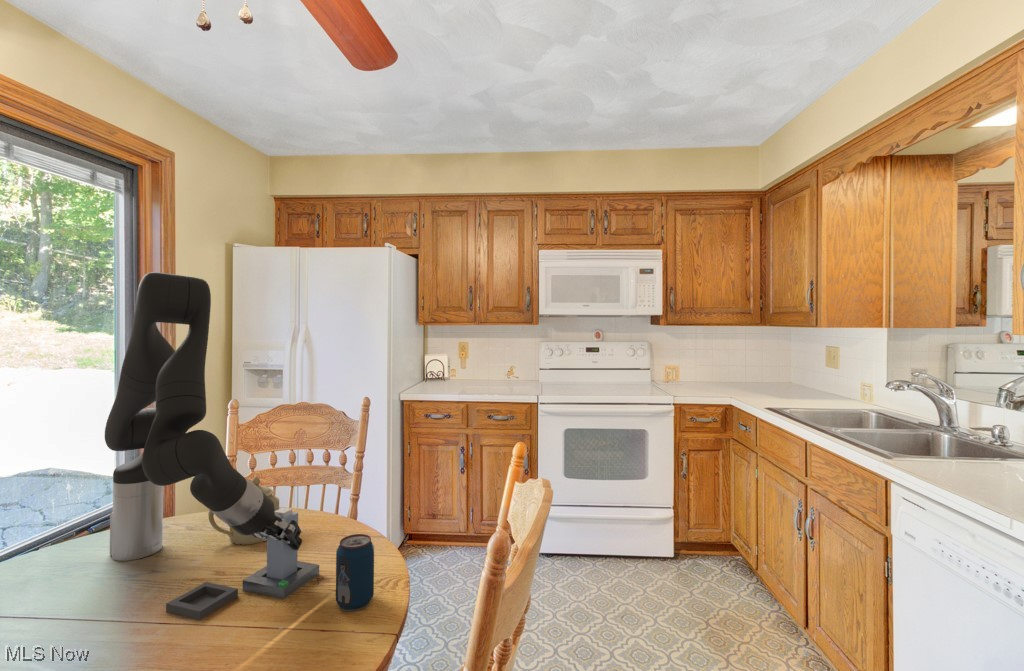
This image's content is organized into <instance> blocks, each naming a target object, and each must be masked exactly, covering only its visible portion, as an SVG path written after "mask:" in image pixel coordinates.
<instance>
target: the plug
mask: <svg viewBox="0 0 1024 671" xmlns="http://www.w3.org/2000/svg"><path fill="white" fill-rule="evenodd" d="M275 513H276V514H277V515H279V516H280V518H281V519H283V520H284V521H286V522H287V523H289V522H290V521H291V520H294V521H296V522H297V524H298V525H299V512H295V511H294V512H293V508H287V507H281V508H279V510H277V511H275ZM277 534H278V533H277ZM277 534H276V535H277ZM284 537H285V538H286V535H284ZM298 550H299V549H298ZM298 550H294V549H292V548H291V547H290V546H289V545H287V544H285V543H284V542H283V541H281V540H280V541H278V540H274V539H272V538H271V537H269V536H268V535H267V541H266V566H267V577H268V578H273V579H278V580H284V579H286V578H287V577H289V576H290V575H292V574H293V573H295V572H297V561H298V554H299V551H298Z"/></svg>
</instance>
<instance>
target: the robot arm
mask: <svg viewBox="0 0 1024 671" xmlns="http://www.w3.org/2000/svg"><path fill="white" fill-rule="evenodd" d="M135 298H136V299H135V306H134V313H133V320H132V326H131V327H132V328H131V333H130V336H129V337H130V338H129V342H128V344H127V345H128V346H127V349H126V350H125V351H126V352H125V355H124V358H123V361H122V366H121V369H120V375H119V380H118V386H117V392H116V395H115V398H114V401H113V405H112V407H111V409H110V412H109V415H108V417H107V420H106V423H105V428H104V441H105V444H106V447H108V449H109V450H110V451H114V452H125V451H135V450H141V449H142V450H143V451H142V453H141V454H140V455H138V456H137V457H135V458H134V459H132V460H130V461H127V462H124V463H123V464H121V465H119V466H117V467H116V468H115V469H114V470H113V472H112V473H113V474H112V512H111V513H110V515H109V555H110V556H111V558H112V560H114V561H119V562H120V561H121V562H122V561H123V562H124V561H133V560H139V559H143V558H147V557H149V556H151V555H154V554H156V553H158V552H159V551H160V550H162V548H163V534H164V533H163V531H164V530H163V528H164V527H163V526H164V525H163V524H164V521H163V520H164V513H163V512H164V487H165V486H172V485H174V484H176V483H179V482H182V481H185V480H188V479H190V478H191V479H192V480H191V482H190V486H189V490H190V494H191V495H192V497H193V498H195V500H197V501H198V502H199V503H200V504H202V505H203V506H204V507H206V508H207V509H208V510H209V509H210V510H211V511H212V512H213V513H214V515H215V516H216V518H218V519H219V520H220V521H221V522H223V523H224V524H226V525H227V526H228V527H229V528H230V527H231V528H232V529H234V530H235V531H236V532H238V533H239V534H241V535H252V536H254V537H255V538H259V537H260V538H262V539H263V540H267V535H268V536H269V537H271V538H272V539H274V540H278V541H280V540H281V541H283V542H284V543H285V544H287V545H289V546H290V547H291V548H292V549H294V550H299V549H300V547H301V545H302V544H303V542H304V541H303V539H302V538H301V537H300V536H301V534H302V530H301V528H300V526H299V523H298V524H297V522H296V521H294V520H291V521H290V522H289V523H287V522H286V521H284V520H283V519H281V518H280V516H279V515H277V514H276V513H275V506H274V502H273V501H272V500H271V499H270V498H269V497H268V496H267V495H266V494H265V493H264V492H262V491H261V490H260V489H259V488H258V487H257V486H256V485H255V484H253V483H252V480H249V479H247V478H246V477H245V476H244V475H242V474H241V473H240V472H239V471H238V470H237V469H236V468H234V467H233V466H232V463H231V461H230V460H229V458H228V456H227V454H226V452H225V451H224V448H223V445H222V444H221V441H220V440H219V438H218V437H217V436H216V435H215V433H212V432H210V431H208V430H205V429H193V430H191V431H189V430H190V429H191V428H193V427H195V426H196V425H197V424H199V423H200V422H202V421H203V420H204V419H205V418H206V414H207V396H206V394H207V392H206V381H205V380H206V374H205V373H206V362H207V361H206V359H207V352H208V350H207V349H208V344H209V343H208V342H209V332H210V320H211V307H212V305H211V304H212V300H211V299H212V294H211V289H210V285H209V284H208V282H207V281H206V280H205V279H202V278H199V277H193V276H189V275H187V276H186V275H182V274H181V275H180V274H174V273H166V272H157V271H156V272H155V271H154V272H153V271H151V272H147V273H145V274H144V276H143V277H142V278H141V280H140V282H139V284H138V288H137V293H136V297H135ZM157 323H163V324H164V323H165V324H177V325H188V327H189V328H188V332H187V335H186V337H185V338H184V340H183V341H182V342H181V343H180V345H179V346H178V347H177V349H176V350H175V349H174V348H173V346H172V345H171V344H170V342H169V341H168V340H167V339H166V338H165V337H164V336H163V334H162V333H161V331H160V330H159V328H158V326H157ZM153 403H155V407H149V406H150V405H152V404H153ZM277 533H278V534H277ZM276 534H277V535H276ZM284 535H286V538H285V537H284Z"/></svg>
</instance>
